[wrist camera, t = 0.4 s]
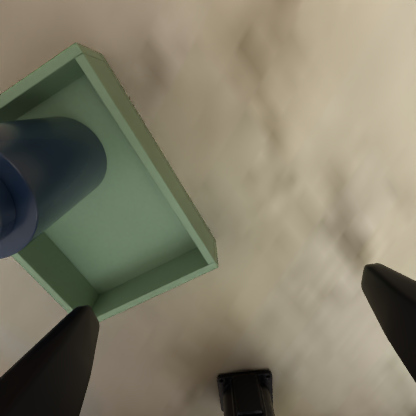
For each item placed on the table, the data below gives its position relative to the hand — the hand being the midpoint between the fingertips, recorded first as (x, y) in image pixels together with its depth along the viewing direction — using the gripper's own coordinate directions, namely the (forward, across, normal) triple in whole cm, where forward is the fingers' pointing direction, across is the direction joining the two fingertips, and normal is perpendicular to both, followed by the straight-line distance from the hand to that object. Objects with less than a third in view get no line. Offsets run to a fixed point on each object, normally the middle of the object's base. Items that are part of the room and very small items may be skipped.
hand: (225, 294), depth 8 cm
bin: (+14, +10, +2) cm, 17 cm away
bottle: (+14, +11, -2) cm, 18 cm away
